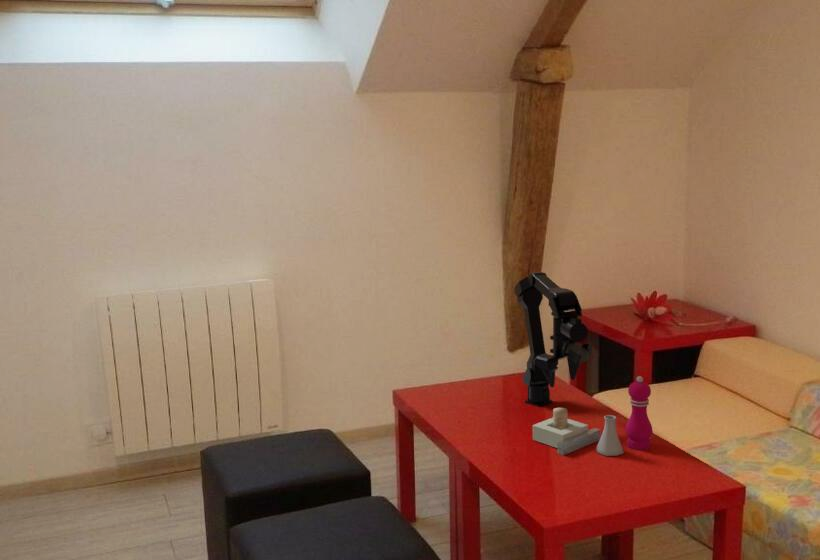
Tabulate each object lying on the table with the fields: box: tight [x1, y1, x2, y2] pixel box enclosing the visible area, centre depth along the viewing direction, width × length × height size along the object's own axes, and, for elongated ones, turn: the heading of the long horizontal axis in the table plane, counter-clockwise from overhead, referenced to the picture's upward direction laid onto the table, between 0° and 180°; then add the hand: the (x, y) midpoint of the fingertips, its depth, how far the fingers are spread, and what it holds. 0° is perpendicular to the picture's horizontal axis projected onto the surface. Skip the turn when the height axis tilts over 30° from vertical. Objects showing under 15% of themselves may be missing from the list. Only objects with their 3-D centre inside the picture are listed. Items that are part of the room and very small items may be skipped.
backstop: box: [556, 427, 601, 456], centre depth 247 cm, size 2×16×3 cm, turn 130°
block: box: [532, 417, 589, 449], centre depth 251 cm, size 11×11×4 cm
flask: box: [596, 414, 624, 457], centre depth 242 cm, size 7×7×10 cm
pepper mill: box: [625, 375, 654, 451], centre depth 244 cm, size 7×7×20 cm
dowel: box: [552, 407, 569, 430], centre depth 251 cm, size 4×4×9 cm
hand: (562, 383), depth 265 cm, fingers open, 9 cm apart
